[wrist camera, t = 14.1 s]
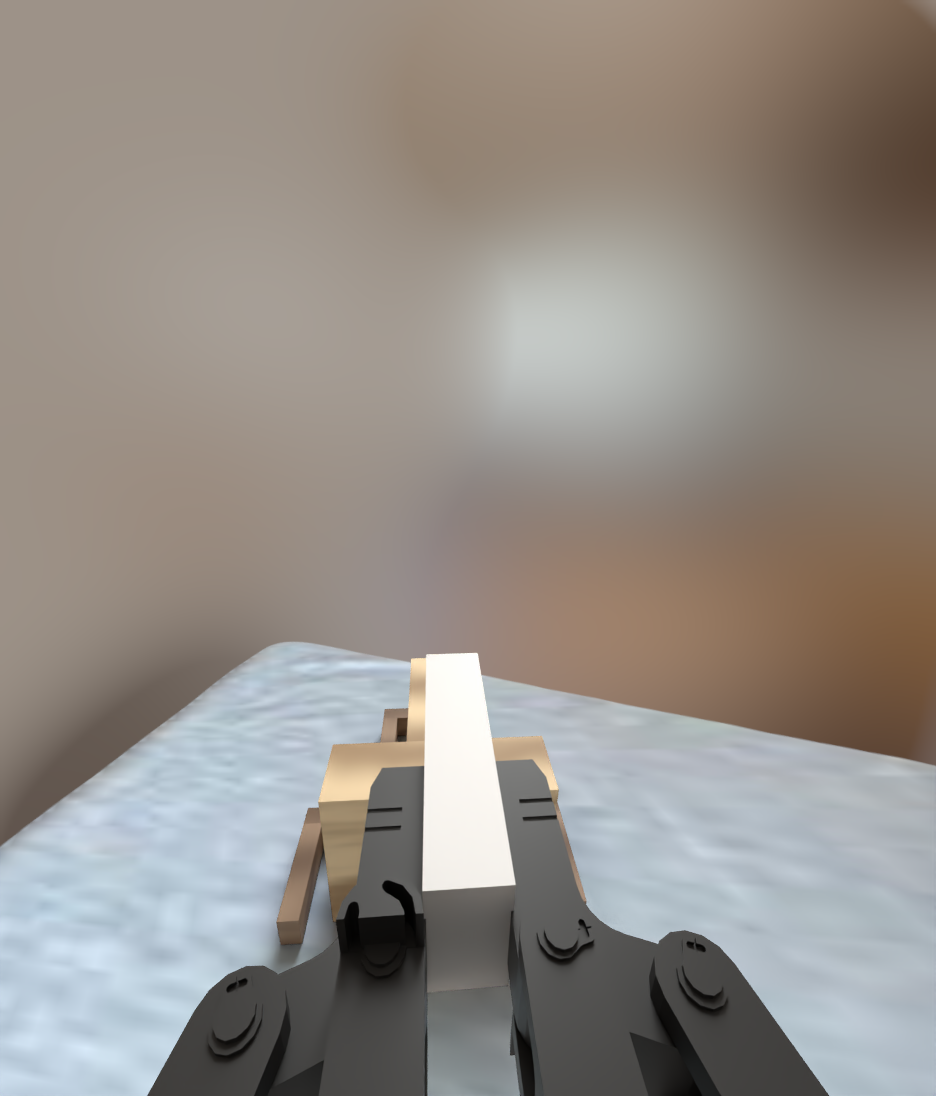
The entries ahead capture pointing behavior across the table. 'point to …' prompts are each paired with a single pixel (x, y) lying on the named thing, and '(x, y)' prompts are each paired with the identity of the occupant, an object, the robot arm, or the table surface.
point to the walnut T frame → (312, 847)
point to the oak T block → (362, 764)
